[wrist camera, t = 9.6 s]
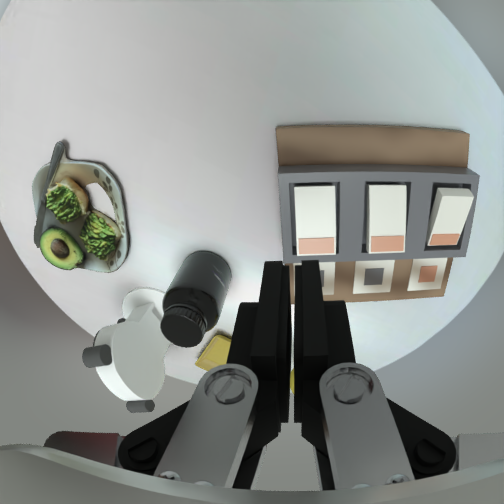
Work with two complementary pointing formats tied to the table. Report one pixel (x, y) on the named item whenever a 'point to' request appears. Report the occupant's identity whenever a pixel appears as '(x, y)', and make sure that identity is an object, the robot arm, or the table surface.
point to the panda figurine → (133, 351)
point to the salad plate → (78, 216)
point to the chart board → (375, 152)
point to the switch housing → (355, 207)
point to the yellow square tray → (214, 353)
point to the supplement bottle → (195, 299)
